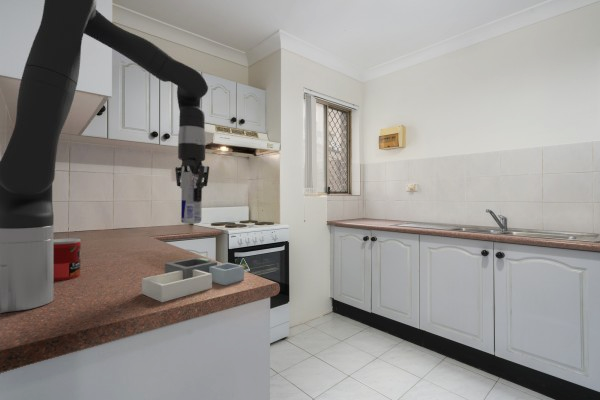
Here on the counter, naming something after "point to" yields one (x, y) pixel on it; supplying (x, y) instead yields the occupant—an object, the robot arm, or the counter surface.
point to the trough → (175, 285)
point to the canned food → (66, 258)
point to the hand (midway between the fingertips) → (191, 201)
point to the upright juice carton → (189, 201)
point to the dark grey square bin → (189, 266)
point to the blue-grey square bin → (227, 273)
